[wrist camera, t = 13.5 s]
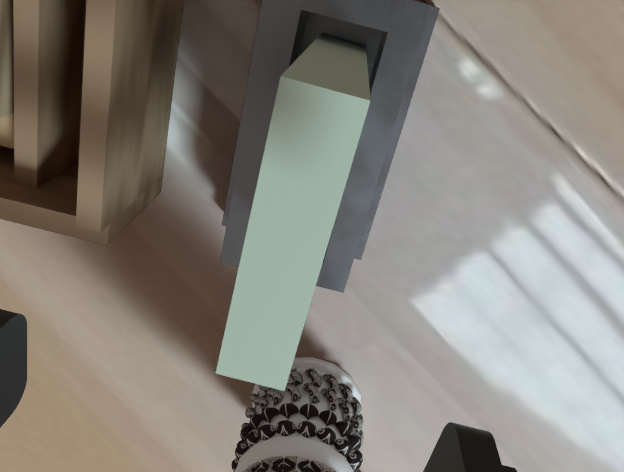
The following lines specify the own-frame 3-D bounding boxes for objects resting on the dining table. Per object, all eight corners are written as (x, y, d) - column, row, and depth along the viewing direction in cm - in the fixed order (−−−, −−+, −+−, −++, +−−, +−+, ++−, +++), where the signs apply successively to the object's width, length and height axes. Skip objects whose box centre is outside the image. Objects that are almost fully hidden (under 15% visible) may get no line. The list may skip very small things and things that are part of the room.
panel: (321, 32, 28) (280, 76, 14) (365, 44, 28) (370, 100, 14) (280, 202, 32) (215, 373, 18) (318, 213, 32) (284, 390, 18)
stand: (273, -36, 28) (252, -42, 23) (436, 7, 29) (453, 11, 23) (227, 216, 35) (202, 257, 29) (360, 249, 35) (360, 296, 30)
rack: (-69, -115, 28) (-244, -158, 20) (189, -47, 28) (120, -63, 20) (-54, 138, 34) (-184, 184, 26) (160, 192, 34) (98, 254, 26)
